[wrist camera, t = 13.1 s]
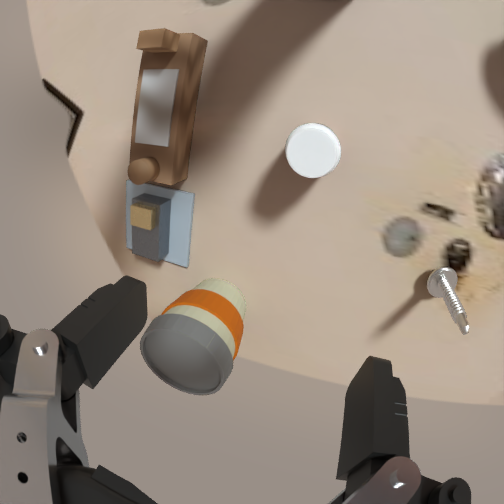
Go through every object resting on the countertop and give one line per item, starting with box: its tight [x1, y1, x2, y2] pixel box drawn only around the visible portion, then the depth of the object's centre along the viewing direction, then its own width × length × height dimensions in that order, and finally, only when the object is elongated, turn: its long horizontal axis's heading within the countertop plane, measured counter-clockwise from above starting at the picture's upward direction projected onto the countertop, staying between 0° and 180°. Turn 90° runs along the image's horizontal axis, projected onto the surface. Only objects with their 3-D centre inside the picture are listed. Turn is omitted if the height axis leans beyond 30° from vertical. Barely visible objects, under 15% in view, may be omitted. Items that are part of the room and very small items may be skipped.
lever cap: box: [130, 193, 171, 262], centre depth 42 cm, size 9×5×4 cm, turn 170°
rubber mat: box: [126, 180, 195, 267], centre depth 44 cm, size 12×12×1 cm
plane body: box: [128, 28, 208, 185], centre depth 33 cm, size 20×7×8 cm, turn 170°
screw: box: [427, 266, 469, 335], centre depth 30 cm, size 13×5×5 cm
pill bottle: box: [285, 123, 341, 178], centre depth 29 cm, size 6×6×10 cm
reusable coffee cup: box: [140, 278, 246, 395], centre depth 41 cm, size 13×13×15 cm
